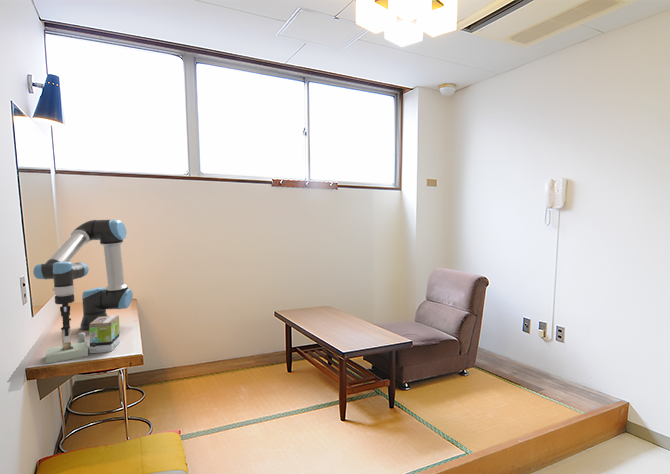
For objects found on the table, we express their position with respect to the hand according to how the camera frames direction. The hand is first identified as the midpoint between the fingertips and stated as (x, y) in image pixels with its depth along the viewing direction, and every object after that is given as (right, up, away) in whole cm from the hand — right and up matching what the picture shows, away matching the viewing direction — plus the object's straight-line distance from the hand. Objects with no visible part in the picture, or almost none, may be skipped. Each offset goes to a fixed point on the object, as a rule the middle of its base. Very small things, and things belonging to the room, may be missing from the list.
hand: (67, 338), depth 182 cm
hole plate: (0, -8, 0) cm, 8 cm away
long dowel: (0, -8, 0) cm, 8 cm away
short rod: (-1, -8, +13) cm, 15 cm away
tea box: (+12, -8, +11) cm, 18 cm away
